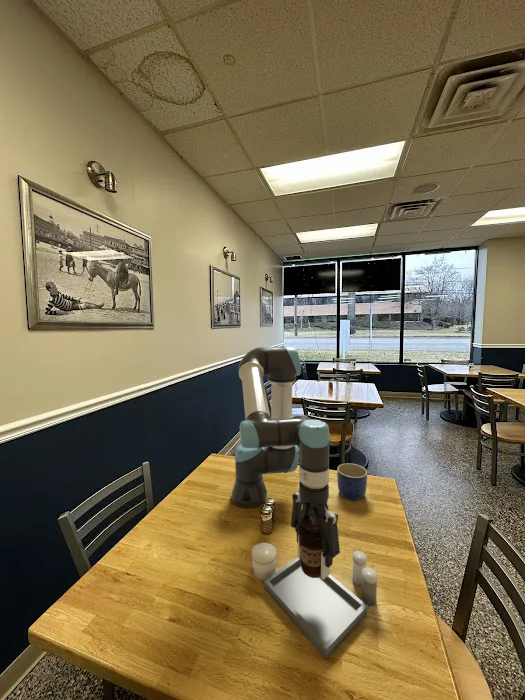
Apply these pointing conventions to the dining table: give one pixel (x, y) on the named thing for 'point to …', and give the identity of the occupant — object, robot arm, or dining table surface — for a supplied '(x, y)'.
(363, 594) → the pepper shaker
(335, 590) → the tray
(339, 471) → the planter
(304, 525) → the coffee cup
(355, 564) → the salt shaker
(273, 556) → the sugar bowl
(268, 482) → the dining table surface
